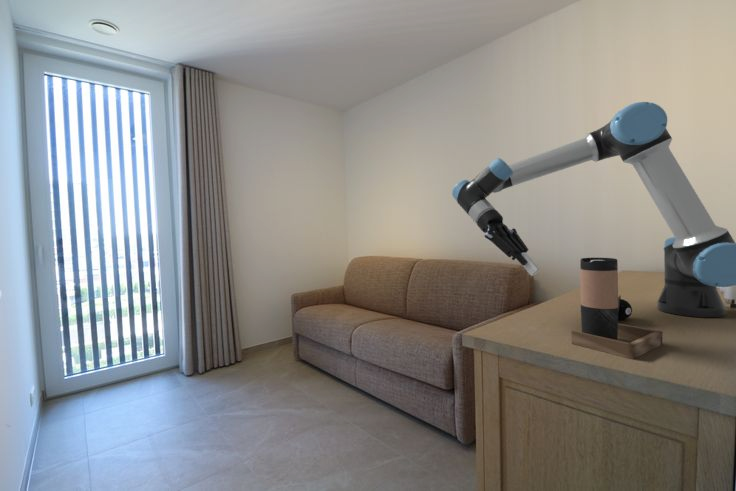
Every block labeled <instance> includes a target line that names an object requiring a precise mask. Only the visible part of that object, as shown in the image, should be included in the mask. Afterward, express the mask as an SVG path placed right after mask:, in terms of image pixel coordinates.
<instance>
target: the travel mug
mask: <svg viewBox="0 0 736 491" xmlns="http://www.w3.org/2000/svg"><path fill="white" fill-rule="evenodd" d="M579 264H580V265H579V266H580V268H579V269H580V270H579V271H580V274H579V275H580V317H581V318H580V320H581V332H582V333H587V334H591V335H596V336H600V337H605V338H609V339H614V340H618V336H617V335H618V323H619V319H618V297H619V281H618V280H619V274H618V272H619V271H618V269H619V268H618V258H614V257H613V258H612V257H583V258H580V263H579Z"/></svg>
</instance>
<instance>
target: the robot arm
mask: <svg viewBox="0 0 736 491" xmlns="http://www.w3.org/2000/svg"><path fill="white" fill-rule="evenodd" d="M667 125H668V115H667V113H666V111H665V110H664V108H663V107H661V106H660V105H659V104H656V103H654V102H648V101H639V102H634V103H632V104H629V105H627V106H625V107H624V108H622V109H621V110H619V111H618V112H617V113H615V115H614V116H613V117H612V118H611V119H610V121H609V122H608V123H606V124H605V125H604V126H602V127H600V128H598V129H596V130H593V131H592V132H589V133H586V135H585V137H583V138H581V139H578V140H575V141H573V142H570V143H567V144H565V145H564V144H563V145H562V146H559V147H556V148H553V149H550V150H548V151H545V152H542V153H539V154H536V155H534V156H531V157H527V158H526V159H523V160H520V161H517V162H514V163H511V164H507V162H505V160H503V159H502V158H500V157H498V158H495V159H494V160H493V161H491V162H489V164H488V165H487V166H486V167H484V169H482V170H481V172H479V173H478V174H477V175H476V176H475V177H474V178H473V179H472V180H467V179H463V180H461V181H460V182H457V183H456V184H455V185H454V187H453V189H452V191H451V192H452V193H451V194H452V196H453V198H454V200H455V201H456V203H457V204H458V205H459V206H460V207H461V208H462V209H463V211H464V212H465V213H466V214H467V215H468V216H469V218H471V220H472V221H473V222H474V223H475V224H476V225H477V227H478V228H479V229H480V230H481V232H483V233H484V237H485V239H487V240H489V241H490V242H491V243H492V244H494V245H495V246H496V248H498V249H499V250H500V251H501V252H503V253H504V254H505V255H506V256H507V257H508V258H511V260H512V261H515V260H517V262H519V264H521V266H522V267H523V268H524V269H525V271H527V273H528V274H529V275H530V276H535V275H536V274H537V273H538V272H539V271H540V270H541V268H540V267H539V266H538V265H537V263H536V261H534V260H533V259H532V258H531V257H530V256H529V255H528V253H527V252H528V251H529V248H528V246H527V245H526V244H525V242H524V241H523V240H522V238H521V237H520V235H519V234H518V232H517V229H516V228H514V227H513V228H511V229H510V228H509V227H508V226H507V225H506V224H504V221H503V220H504V217H503V215H502V214H501V213H500V212H499V211H498V210H497V209H496V208H495V207H494V205H493V204H491V202H489V200H487V199H486V198H487V197H489V196H490V195H491V194H492V193H494V194H495V193H499V192H501V191H503V190H505V189H508V188H511V187H514V186H517V185H520V184H523V183H526V182H529V181H533V180H535V179H539V178H541V177H544V176H547V175H550V174H553V173H556V172H558V171H563V170H565V169H569V168H571V167H574V166H578V165H581V164H582V163H586V162H590V161H593V162H599V161H603V160H606V159H610V158H614V157H617V156H619V157H620V159H621V161H622V162H623V163H626V164H630V165H632V166H633V168H634V169H635V171H636V173H637V175H638V176H639V178H640V180H641V181H642V183H643V185H644V187H645V188H646V190H647V192H648V193H649V195H650V197H651V199H652V201H653V202H654V204H655V205H656V207H657V209H658V211H659V212H660V214H661V215H662V218H663V219H664V221H665V222H666V224H667V226H668V228H669V230H670V232H671V233H672V234H673V236H672V237H668V238H666V239H665V241H664V247H663V251H664V254H663V255H664V262H663V263H664V286H663V288H662V289H661V290H662V291H661V292H660V295H659V298H658V300H657V302H656V303H657V307H656V308H657V309H658V310H659V311H661V312H663V313H664V312H665V313H667V314H673V315H678V316H685V317H686V316H687V317H695V318H696V317H697V318H720V317H724V316H725V314H726V308H725V305H724V303H723V300H722V298H721V296H720V294H719V291H718V289H717V287H718V288H729V287H733V286H736V241H735V240H734V238H733V236H732V235H731V234H730V232H729V230H728V229H727V228H725V227H723V226H722V227H721V226H717V225H716V223H715V222H714V220H713V219H712V217H711V215H710V213H709V212H708V210H707V208H706V207H705V206H704V203H703V202H702V200H701V199H700V197H699V195H698V194H697V192H696V191H695V189H694V187H693V186H692V183H691V182H690V180H689V179H688V177H687V175H686V174H685V172H684V171H683V169H682V167H681V166H680V164H679V162H678V161H677V158H676V156H674V154H673V152H672V151H671V148H670V145H671V142H672V141H673V138H672V136H671V135H670V133H669V131H668V129H667Z"/></svg>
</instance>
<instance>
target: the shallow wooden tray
mask: <svg viewBox="0 0 736 491" xmlns="http://www.w3.org/2000/svg"><path fill="white" fill-rule="evenodd" d="M617 337H620V338H625V339H629V340H632V341H631V342H628V341H622V340H618V339H617V340H614V339H609V338H605V337H600V336H596V335H591V334H587V333H582V331H577V330H572V331H571V344H573V345H576V346H579V347H584V348H588V349H591V350H594V351H598V352H601V353H602V352H603V353H606V352H607V354H610V355H611V354H612V355H615V356H618V357H622V358H626V359H629V360H630V359H631V360H635V359H637V358H638V357H640V356H643V355H644V354H646V353H649V352H650V351H652V350H654V349H656V348H658V347H660V346H662V345H663V331H661V330H656V329H651V328H645V327H641V326H633V325H629V324H625V323H624V324H623V323H619V322H618V335H617Z"/></svg>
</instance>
